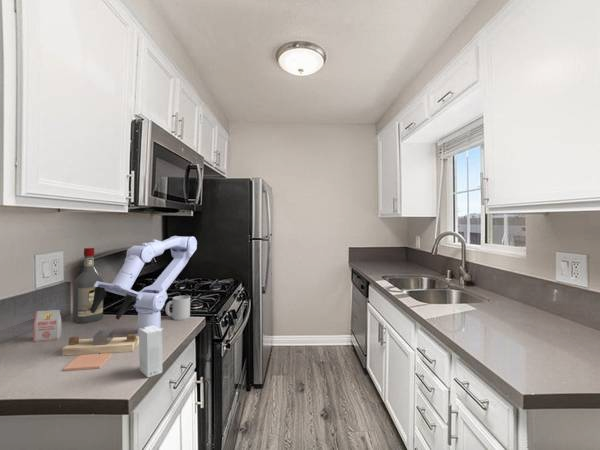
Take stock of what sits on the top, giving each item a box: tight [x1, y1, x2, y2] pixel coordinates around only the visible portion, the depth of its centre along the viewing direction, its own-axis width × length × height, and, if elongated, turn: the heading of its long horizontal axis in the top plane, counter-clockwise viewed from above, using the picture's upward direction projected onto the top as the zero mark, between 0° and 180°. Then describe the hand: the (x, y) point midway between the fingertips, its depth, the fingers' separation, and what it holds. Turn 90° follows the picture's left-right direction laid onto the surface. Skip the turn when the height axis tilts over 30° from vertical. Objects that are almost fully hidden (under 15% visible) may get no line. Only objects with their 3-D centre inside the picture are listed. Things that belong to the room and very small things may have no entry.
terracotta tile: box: [63, 353, 113, 372], centre depth 92 cm, size 9×9×1 cm
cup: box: [165, 295, 191, 321], centre depth 134 cm, size 7×10×9 cm
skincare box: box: [138, 325, 163, 378], centre depth 87 cm, size 6×4×12 cm
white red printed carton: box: [32, 309, 62, 342], centre depth 108 cm, size 4×7×10 cm, turn 111°
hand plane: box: [61, 333, 139, 356], centre depth 101 cm, size 8×20×4 cm, turn 102°
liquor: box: [72, 247, 104, 324], centre depth 130 cm, size 9×9×30 cm
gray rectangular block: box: [92, 329, 114, 345], centre depth 101 cm, size 5×4×3 cm
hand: (104, 315), depth 96 cm, fingers open, 7 cm apart
